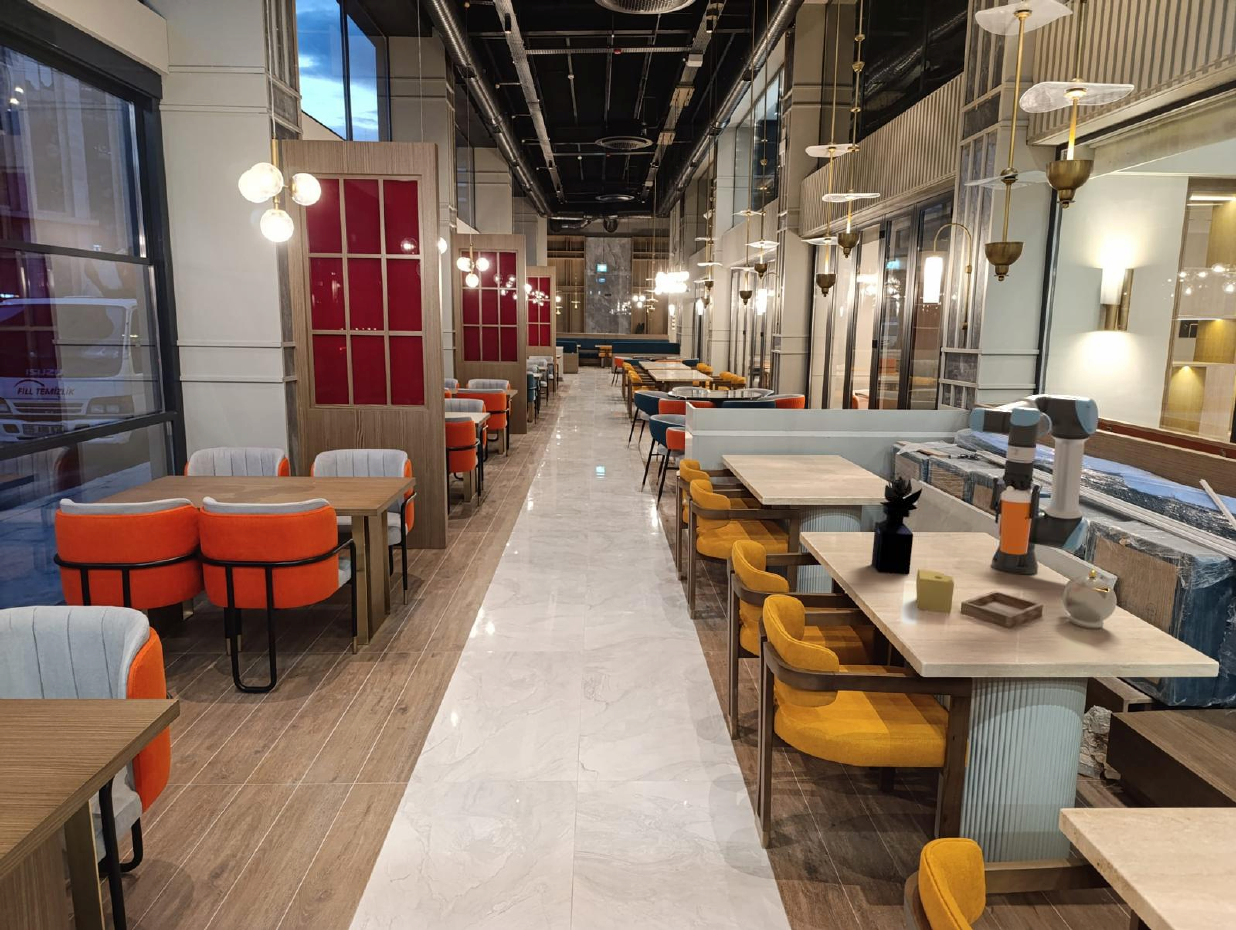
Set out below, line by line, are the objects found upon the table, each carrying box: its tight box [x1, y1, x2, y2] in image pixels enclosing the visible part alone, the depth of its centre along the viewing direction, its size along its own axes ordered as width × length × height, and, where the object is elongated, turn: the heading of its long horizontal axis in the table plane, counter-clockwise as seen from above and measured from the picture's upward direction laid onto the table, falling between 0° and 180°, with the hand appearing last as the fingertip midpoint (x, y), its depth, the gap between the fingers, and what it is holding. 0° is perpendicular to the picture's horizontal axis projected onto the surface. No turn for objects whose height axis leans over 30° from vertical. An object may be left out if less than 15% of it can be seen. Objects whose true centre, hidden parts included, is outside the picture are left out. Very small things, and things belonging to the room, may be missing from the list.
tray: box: [959, 590, 1044, 630], centre depth 241 cm, size 20×15×4 cm
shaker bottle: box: [1000, 484, 1032, 555], centre depth 235 cm, size 9×9×20 cm
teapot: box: [1062, 570, 1118, 630], centre depth 236 cm, size 18×14×16 cm
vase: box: [871, 472, 923, 575], centre depth 282 cm, size 14×12×35 cm
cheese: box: [915, 568, 955, 614], centre depth 246 cm, size 10×11×10 cm
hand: (1010, 537), depth 237 cm, fingers open, 6 cm apart
